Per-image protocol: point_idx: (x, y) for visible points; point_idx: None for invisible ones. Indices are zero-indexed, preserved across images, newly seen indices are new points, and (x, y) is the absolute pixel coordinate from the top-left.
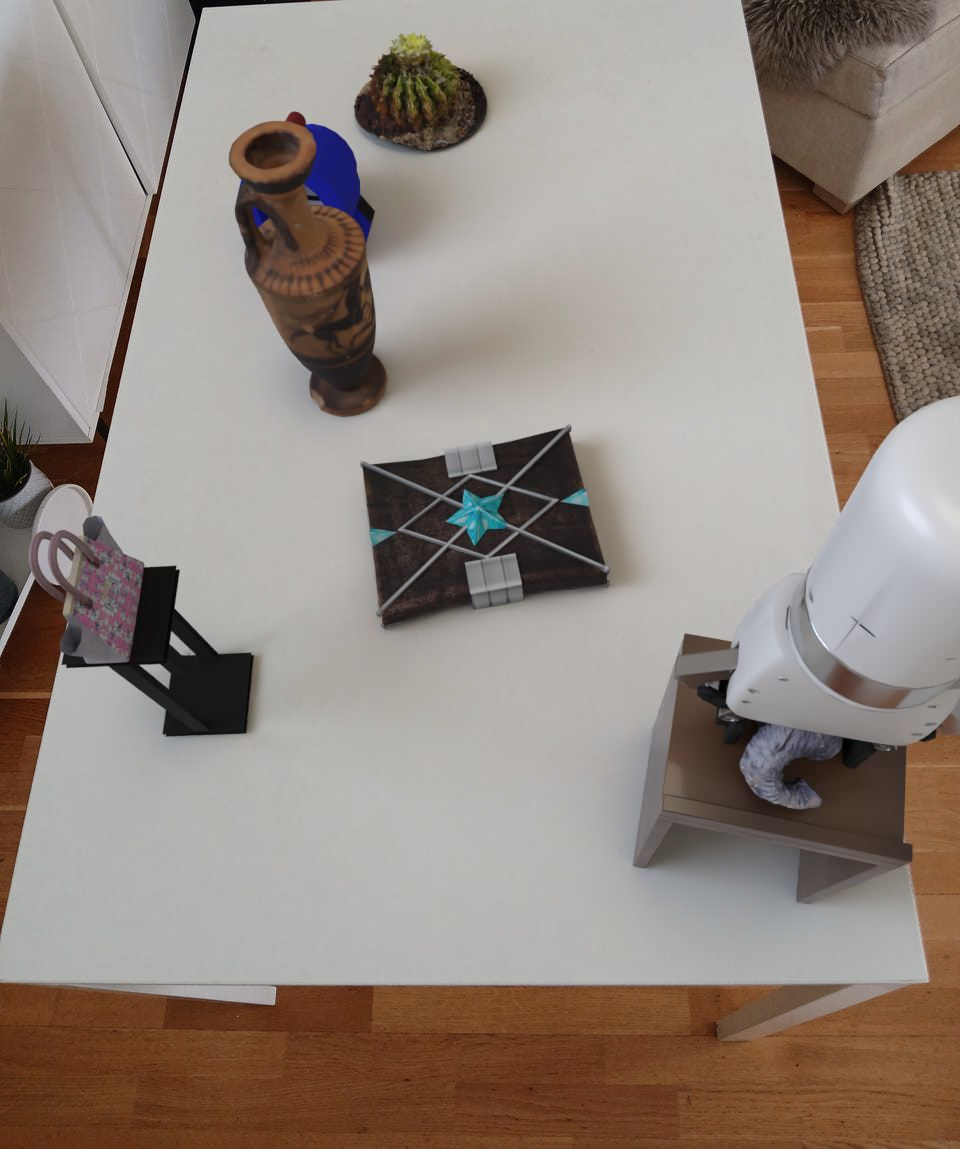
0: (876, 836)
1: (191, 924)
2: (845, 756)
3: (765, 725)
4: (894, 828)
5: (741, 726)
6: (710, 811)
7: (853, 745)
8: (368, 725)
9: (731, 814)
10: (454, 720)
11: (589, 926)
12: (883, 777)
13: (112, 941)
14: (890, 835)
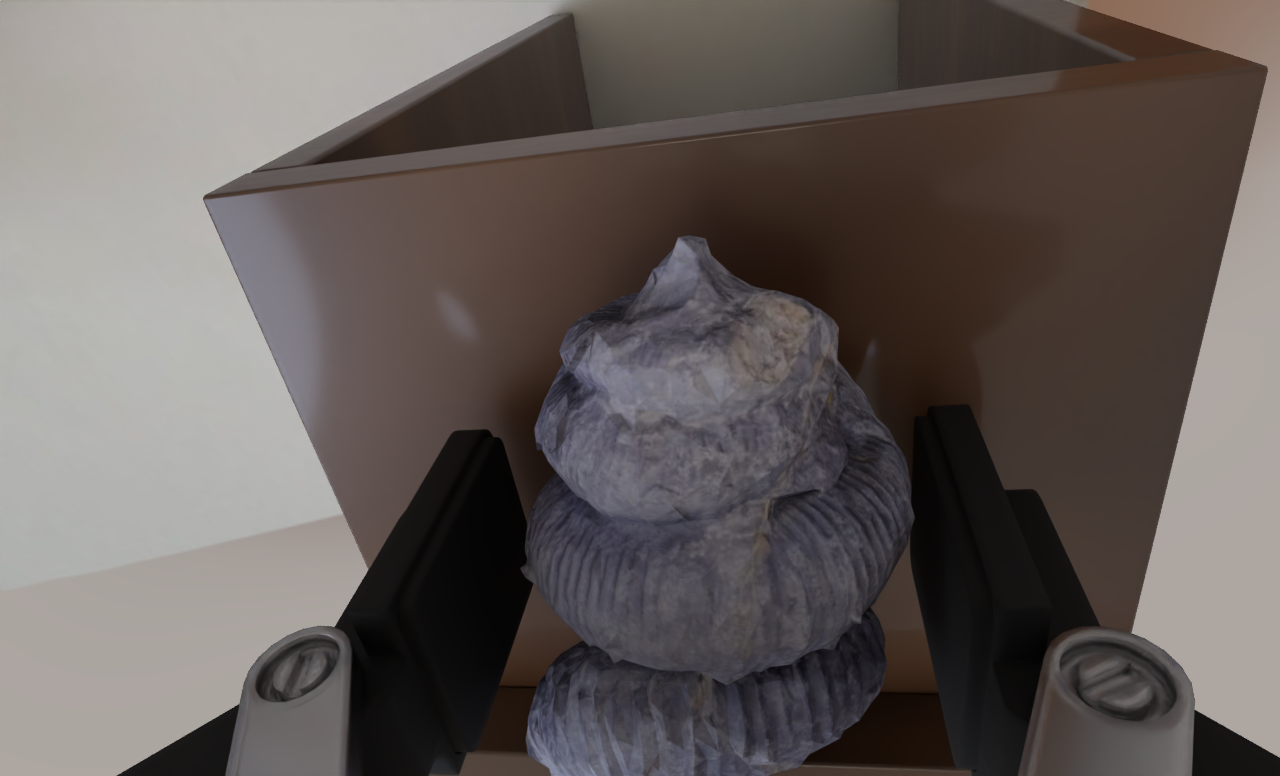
0: None
1: (102, 518)
2: (917, 580)
3: (557, 691)
4: None
5: (448, 774)
6: (523, 772)
7: (937, 652)
8: (76, 205)
9: None
10: (194, 145)
11: None
12: (1069, 537)
13: (44, 551)
14: None
